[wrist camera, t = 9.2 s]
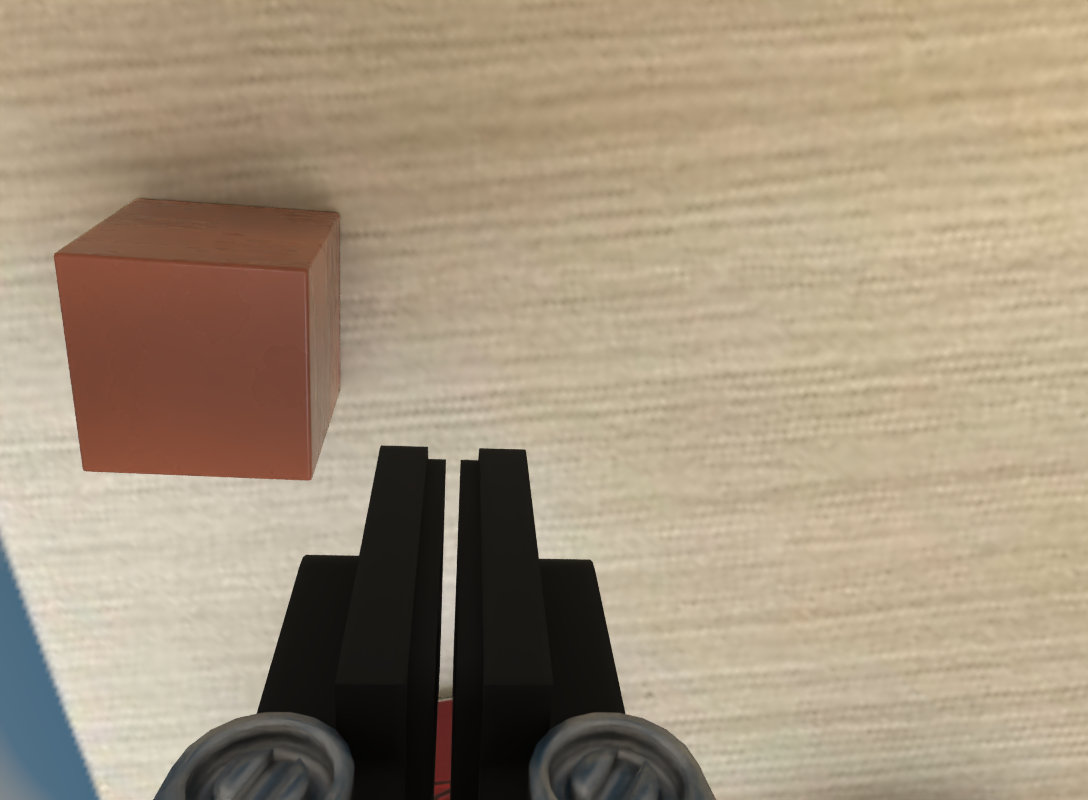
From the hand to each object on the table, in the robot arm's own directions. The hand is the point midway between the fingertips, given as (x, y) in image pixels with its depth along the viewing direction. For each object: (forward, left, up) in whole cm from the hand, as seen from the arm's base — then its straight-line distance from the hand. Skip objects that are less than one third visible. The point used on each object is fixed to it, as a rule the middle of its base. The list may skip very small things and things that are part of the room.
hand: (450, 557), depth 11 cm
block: (+3, -4, -12) cm, 13 cm away
